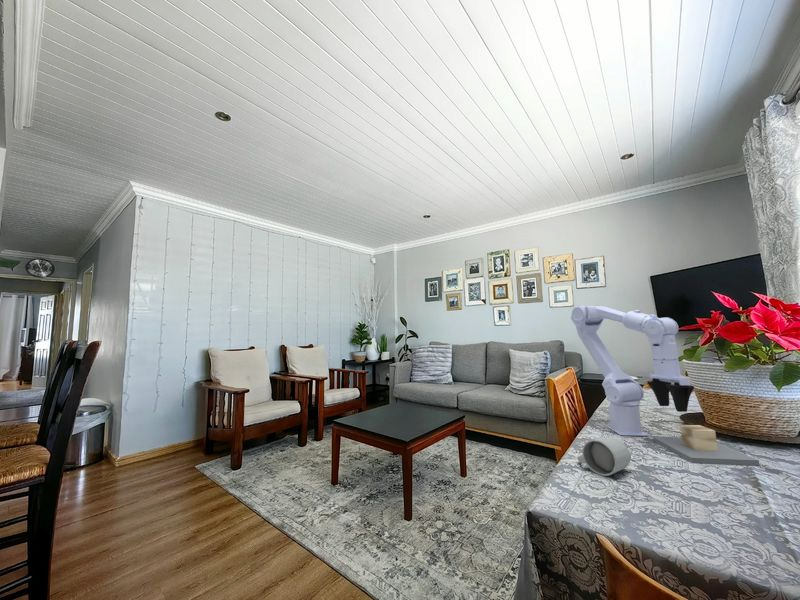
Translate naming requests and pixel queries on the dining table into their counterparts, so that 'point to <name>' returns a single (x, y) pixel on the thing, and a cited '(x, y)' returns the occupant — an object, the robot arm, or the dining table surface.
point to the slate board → (706, 453)
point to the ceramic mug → (605, 455)
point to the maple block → (698, 437)
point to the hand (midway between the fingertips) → (672, 408)
